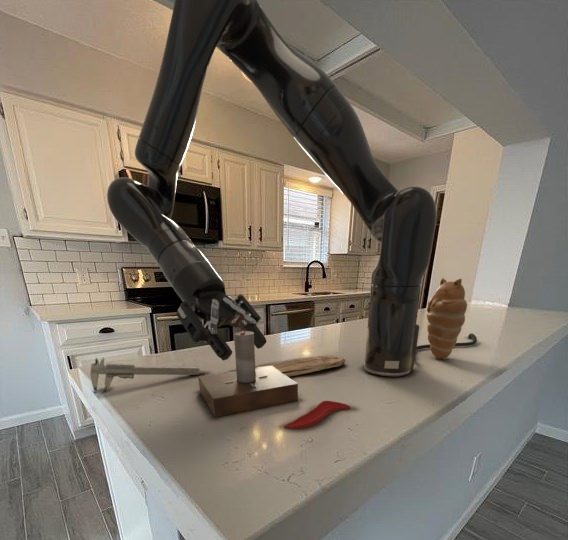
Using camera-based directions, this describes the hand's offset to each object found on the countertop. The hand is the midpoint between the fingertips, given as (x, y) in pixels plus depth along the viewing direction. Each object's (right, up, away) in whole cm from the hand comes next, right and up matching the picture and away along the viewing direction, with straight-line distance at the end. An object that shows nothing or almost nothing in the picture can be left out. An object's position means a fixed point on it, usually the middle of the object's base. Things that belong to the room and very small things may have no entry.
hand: (246, 351), depth 53 cm
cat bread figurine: (+43, 0, +23) cm, 48 cm away
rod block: (0, -7, +3) cm, 8 cm away
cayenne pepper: (+11, -10, -4) cm, 16 cm away
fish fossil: (+7, -3, +17) cm, 18 cm away
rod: (0, -5, +2) cm, 5 cm away
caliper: (-19, -5, +10) cm, 23 cm away
